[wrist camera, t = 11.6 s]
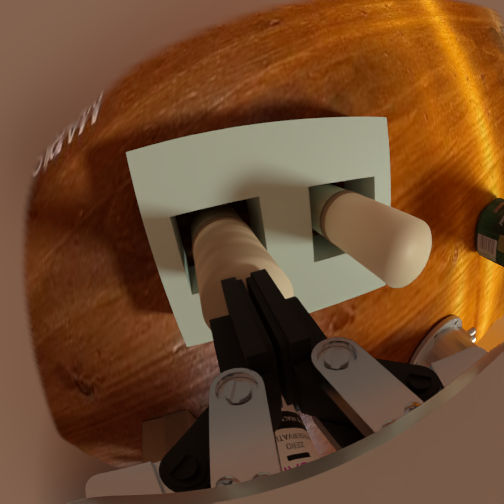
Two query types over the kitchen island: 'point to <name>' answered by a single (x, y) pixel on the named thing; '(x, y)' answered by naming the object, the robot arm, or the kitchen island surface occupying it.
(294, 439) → the supplement can
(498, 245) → the coffee jar
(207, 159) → the seat board
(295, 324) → the robot arm
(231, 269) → the peg
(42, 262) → the kitchen island surface
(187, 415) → the wooden toy
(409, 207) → the kitchen island surface
